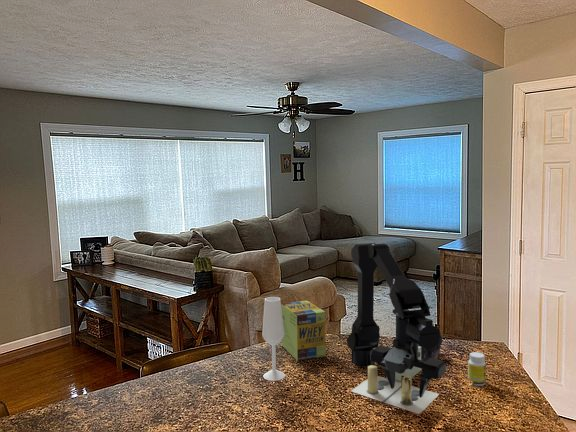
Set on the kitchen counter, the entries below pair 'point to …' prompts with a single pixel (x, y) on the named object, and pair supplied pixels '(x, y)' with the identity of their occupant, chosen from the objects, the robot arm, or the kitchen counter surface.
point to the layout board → (392, 392)
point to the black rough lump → (430, 351)
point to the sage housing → (408, 371)
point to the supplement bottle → (477, 369)
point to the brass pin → (406, 389)
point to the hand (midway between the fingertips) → (406, 392)
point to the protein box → (303, 330)
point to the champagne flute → (273, 332)
